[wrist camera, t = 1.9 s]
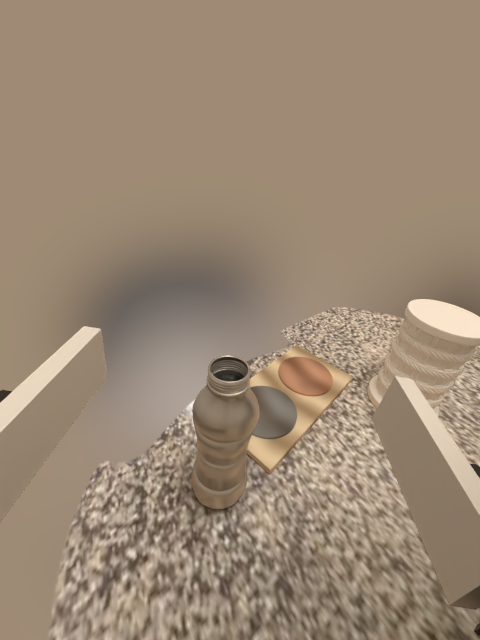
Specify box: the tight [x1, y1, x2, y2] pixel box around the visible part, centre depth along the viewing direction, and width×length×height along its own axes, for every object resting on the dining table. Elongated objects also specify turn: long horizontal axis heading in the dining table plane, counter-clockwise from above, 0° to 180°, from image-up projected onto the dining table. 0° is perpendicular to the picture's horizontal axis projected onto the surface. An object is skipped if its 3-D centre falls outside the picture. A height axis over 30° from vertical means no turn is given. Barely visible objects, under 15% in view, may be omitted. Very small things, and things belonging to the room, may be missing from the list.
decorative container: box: [367, 299, 480, 416], centre depth 46 cm, size 12×12×18 cm
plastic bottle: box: [191, 356, 260, 509], centre depth 30 cm, size 6×7×20 cm
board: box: [247, 345, 353, 474], centre depth 49 cm, size 26×13×2 cm, turn 137°
